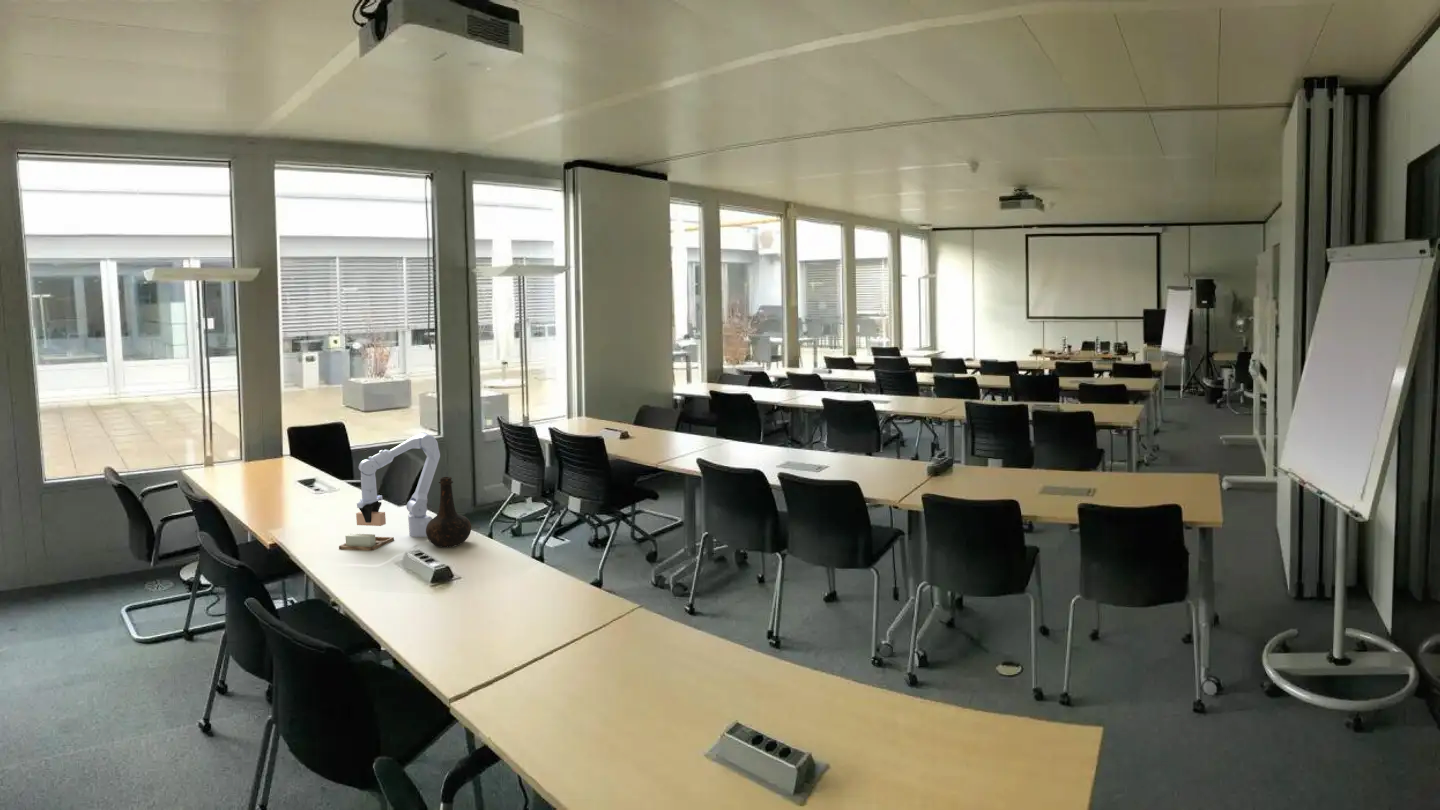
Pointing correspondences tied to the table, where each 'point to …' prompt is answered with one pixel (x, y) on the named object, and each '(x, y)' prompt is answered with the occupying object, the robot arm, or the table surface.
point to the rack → (379, 542)
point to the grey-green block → (360, 540)
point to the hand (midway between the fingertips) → (371, 521)
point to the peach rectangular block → (372, 519)
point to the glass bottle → (447, 520)
